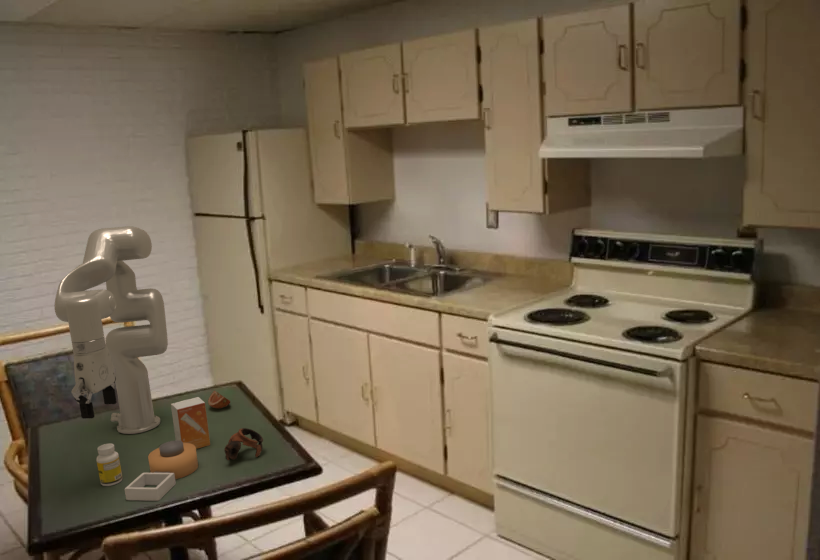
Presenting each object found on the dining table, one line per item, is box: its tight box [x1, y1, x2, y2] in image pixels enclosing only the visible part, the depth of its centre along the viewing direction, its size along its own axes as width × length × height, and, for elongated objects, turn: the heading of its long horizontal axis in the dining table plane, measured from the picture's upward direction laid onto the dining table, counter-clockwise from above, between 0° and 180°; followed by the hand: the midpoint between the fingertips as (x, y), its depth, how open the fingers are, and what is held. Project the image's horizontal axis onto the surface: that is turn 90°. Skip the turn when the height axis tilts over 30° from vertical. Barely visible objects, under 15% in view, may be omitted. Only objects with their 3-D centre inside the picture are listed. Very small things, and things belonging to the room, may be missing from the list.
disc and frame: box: [124, 439, 199, 502], centre depth 188 cm, size 12×22×7 cm, turn 170°
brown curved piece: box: [223, 427, 264, 461], centre depth 198 cm, size 12×10×8 cm
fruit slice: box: [207, 390, 231, 409], centre depth 237 cm, size 8×7×5 cm
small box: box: [170, 396, 211, 450], centre depth 207 cm, size 8×6×13 cm
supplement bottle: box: [96, 443, 123, 487], centre depth 189 cm, size 5×5×10 cm
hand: (99, 410), depth 186 cm, fingers open, 9 cm apart
